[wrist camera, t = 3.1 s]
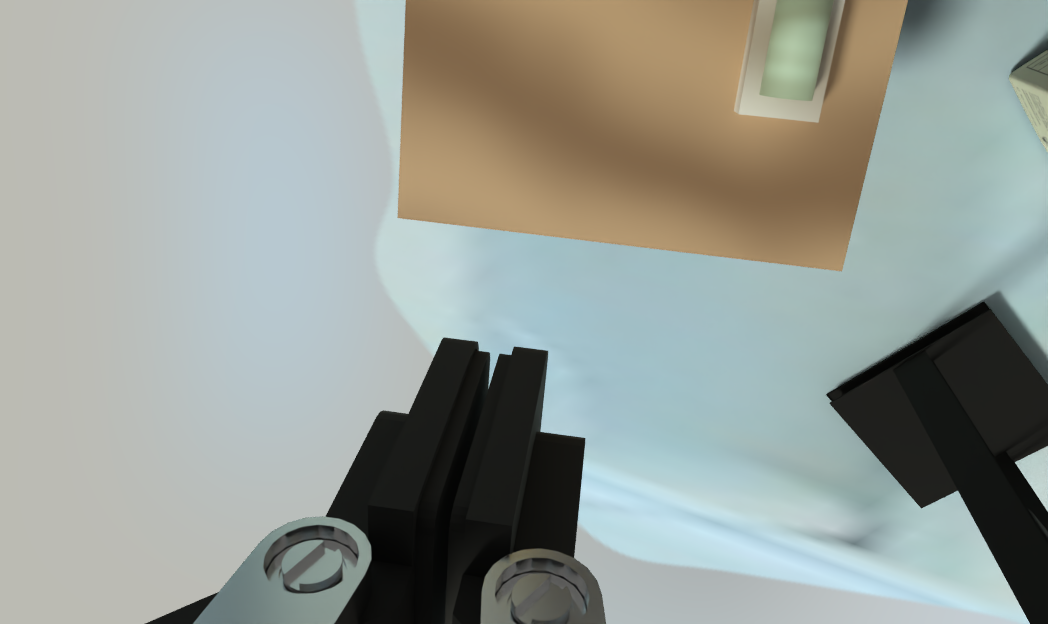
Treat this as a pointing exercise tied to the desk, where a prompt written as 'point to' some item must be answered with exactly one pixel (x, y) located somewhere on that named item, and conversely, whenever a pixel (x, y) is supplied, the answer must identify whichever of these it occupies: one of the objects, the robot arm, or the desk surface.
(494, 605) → the robot arm
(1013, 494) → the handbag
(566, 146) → the level plate
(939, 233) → the desk surface
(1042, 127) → the skincare box
